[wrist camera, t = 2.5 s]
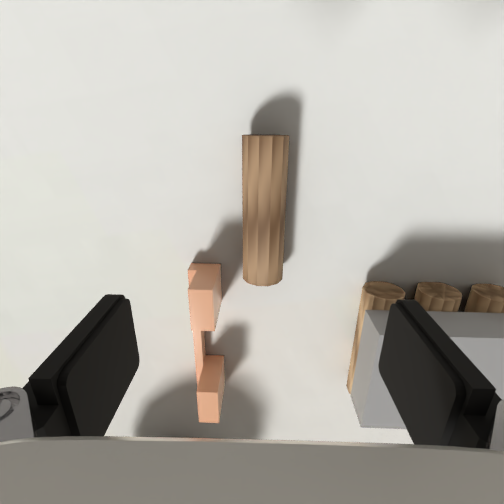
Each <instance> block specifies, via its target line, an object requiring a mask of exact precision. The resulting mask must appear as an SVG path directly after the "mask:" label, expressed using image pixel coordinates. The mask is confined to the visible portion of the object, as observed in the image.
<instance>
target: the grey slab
mask: <svg viewBox="0 0 504 504" xmlns="http://www.w3.org/2000/svg"><path fill="white" fill-rule="evenodd" d="M426 312H427V313H428V314H429V315H430V316H431V317H432V318H433V319H434V321H435V322H436V323H437V324H438V325H439V326H440V327H441V328H442V329H443V330H444V332H445V333H446V334H447V335H448V336H449V337H450V338H451V339H452V340H453V342H454V343H455V344H456V345H457V346H458V347H459V348H460V349H461V350H462V352H463V353H464V354H465V355H466V356H467V357H468V358H469V359H470V360H471V361H472V363H473V364H474V365H475V366H476V367H477V368H478V369H479V370H480V371H481V373H482V374H483V375H484V376H485V377H486V378H487V379H488V380H489V381H490V383H491V384H492V385H493V386H494V387H495V388H496V391H495V392H496V394H497V395H498V396H499V397H500V398H501V399H502V400H503V399H504V313H482V312H440V311H426ZM388 315H389V310H365V315H364V321H363V327H362V332H361V338H360V344H359V350H358V355H357V361H356V367H355V373H354V378H353V384H352V390H351V398H352V401H353V404H354V408H355V411H356V414H357V417H358V420H359V423H360V426H361V427H364V428H393V429H407V428H406V426H405V424H404V422H403V420H402V418H401V416H400V414H399V412H398V410H397V408H396V406H395V404H394V402H393V400H392V398H391V396H390V393H389V391H388V389H387V387H386V385H385V383H384V381H383V379H382V377H381V375H380V372H379V367H378V364H379V359H380V354H381V349H382V344H383V339H384V334H385V329H386V325H387V320H388Z"/></svg>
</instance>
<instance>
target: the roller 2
mask: <svg viewBox="0 0 504 504" xmlns="http://www.w3.org/2000/svg"><path fill="white" fill-rule="evenodd" d="M404 298H405V292H404V291H403V290H402V288H400V287H398V286H396V285H394V284H392V283H388V282H382V281H370V282H367V283H365V284H364V286H363V289H362V295H361V301H360V307H359V313H358V319H357V325H356V331H355V337H354V343H353V349H352V355H351V361H350V367H349V374H348V380H347V388H348V391H349V393H350V394H351V390H352V384H353V378H354V373H355V367H356V361H357V355H358V350H359V344H360V338H361V332H362V327H363V321H364V315H365V310H390V306H391V304H393V303H395V302H396V301H397V300H398V299H399V300H404Z"/></svg>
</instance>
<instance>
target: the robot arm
mask: <svg viewBox="0 0 504 504" xmlns="http://www.w3.org/2000/svg"><path fill="white" fill-rule="evenodd" d="M138 366H139V353H138V347H137V341H136V335H135V329H134V323H133V317H132V311H131V305H130V301H129V299H125V297H124V295H110V294H108V295H105V296H104V297H103V298H102V299H101V300H100V301H99V302H98V303H97V304H96V305H95V307H94V308H93V309H92V310H91V311H90V312H89V313H88V314H87V315H86V316H85V317H84V319H83V320H82V321H81V322H80V323H79V324H78V325H77V326H76V327H75V328H74V329H73V330H72V332H71V333H70V334H69V335H68V336H67V337H66V338H65V339H64V340H63V341H62V342H61V344H60V345H59V346H58V347H57V348H56V349H55V350H54V351H53V352H52V353H51V354H50V356H49V357H48V358H47V359H46V360H45V361H44V362H43V363H42V364H41V365H40V366H39V367H38V369H37V370H36V371H35V372H34V373H33V374H32V375H31V376H30V377H29V378H28V379H29V382H28V383H27V384H26V385H25V386H24V387H23V388H20V387H6V388H1V389H0V504H504V399H503V400H502V399H501V398H500V397H499V396H498V395H497V394H496V392H495V391H496V388H495V387H494V386H493V385H492V384H491V383H490V381H489V380H488V379H487V378H486V377H485V376H484V375H483V374H482V373H481V371H480V370H479V369H478V368H477V367H476V366H475V365H474V364H473V363H472V361H471V360H470V359H469V358H468V357H467V356H466V355H465V354H464V353H463V352H462V350H461V349H460V348H459V347H458V346H457V345H456V344H455V343H454V342H453V340H452V339H451V338H450V337H449V336H448V335H447V334H446V333H445V332H444V330H443V329H442V328H441V327H440V326H439V325H438V324H437V323H436V322H435V321H434V319H433V318H432V317H431V316H430V315H429V314H428V313H427V312H426V311H425V309H424V308H423V307H422V306H421V305H420V304H419V303H418V302H417V301H416V300H399V299H398V300H397V301H396V302H395V303H393V304H391V306H390V310H389V315H388V320H387V325H386V329H385V334H384V339H383V344H382V349H381V354H380V359H379V364H378V367H379V372H380V375H381V377H382V379H383V381H384V383H385V385H386V387H387V389H388V391H389V393H390V396H391V398H392V400H393V402H394V404H395V406H396V408H397V410H398V412H399V414H400V416H401V418H402V420H403V422H404V424H405V426H406V428H407V430H408V432H409V435H410V437H411V439H412V441H413V443H414V444H392V443H360V442H329V441H295V440H258V439H218V438H171V437H118V436H104V435H105V433H106V431H107V429H108V427H109V425H110V423H111V421H112V419H113V417H114V415H115V413H116V411H117V409H118V407H119V405H120V403H121V401H122V399H123V397H124V395H125V393H126V391H127V389H128V387H129V385H130V383H131V381H132V379H133V377H134V375H135V373H136V371H137V369H138Z"/></svg>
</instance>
